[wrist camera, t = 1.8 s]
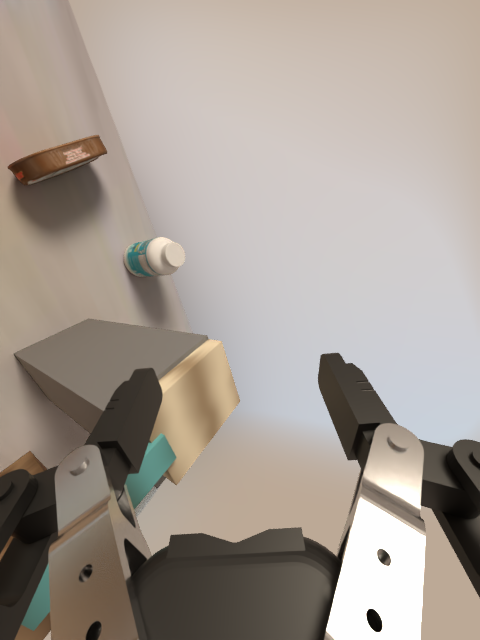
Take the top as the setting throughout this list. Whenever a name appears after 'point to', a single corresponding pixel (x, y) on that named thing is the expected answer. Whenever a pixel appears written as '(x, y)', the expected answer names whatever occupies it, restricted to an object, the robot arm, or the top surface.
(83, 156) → the tin
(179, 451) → the tan strapped package
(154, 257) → the pill bottle
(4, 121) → the top surface
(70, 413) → the charcoal plinth
